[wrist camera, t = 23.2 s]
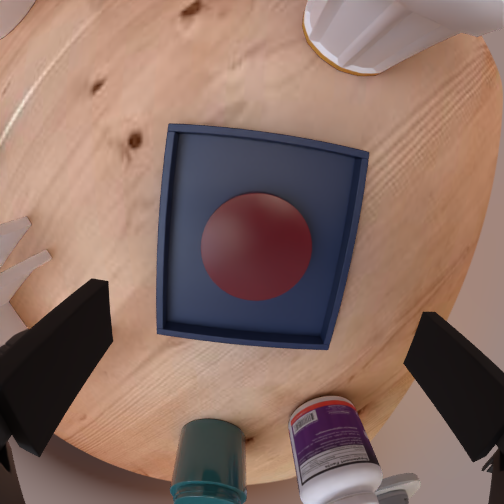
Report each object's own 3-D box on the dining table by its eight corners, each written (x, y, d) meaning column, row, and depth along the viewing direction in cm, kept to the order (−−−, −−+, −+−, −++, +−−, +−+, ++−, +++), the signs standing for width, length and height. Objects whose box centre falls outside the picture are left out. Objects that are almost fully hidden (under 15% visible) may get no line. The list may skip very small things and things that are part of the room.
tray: (322, 338, 27) (328, 350, 25) (162, 323, 26) (156, 334, 24) (360, 153, 22) (369, 152, 20) (174, 127, 21) (168, 123, 19)
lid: (304, 186, 22) (309, 187, 20) (310, 285, 25) (315, 293, 23) (197, 198, 22) (192, 200, 20) (212, 296, 25) (209, 306, 23)
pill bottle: (343, 432, 31) (373, 521, 17) (282, 436, 31) (296, 535, 17) (361, 388, 29) (408, 487, 15) (293, 392, 28) (317, 508, 15)
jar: (241, 457, 32) (242, 522, 21) (181, 450, 31) (171, 514, 21) (249, 421, 30) (251, 497, 19) (179, 414, 29) (164, 488, 19)
